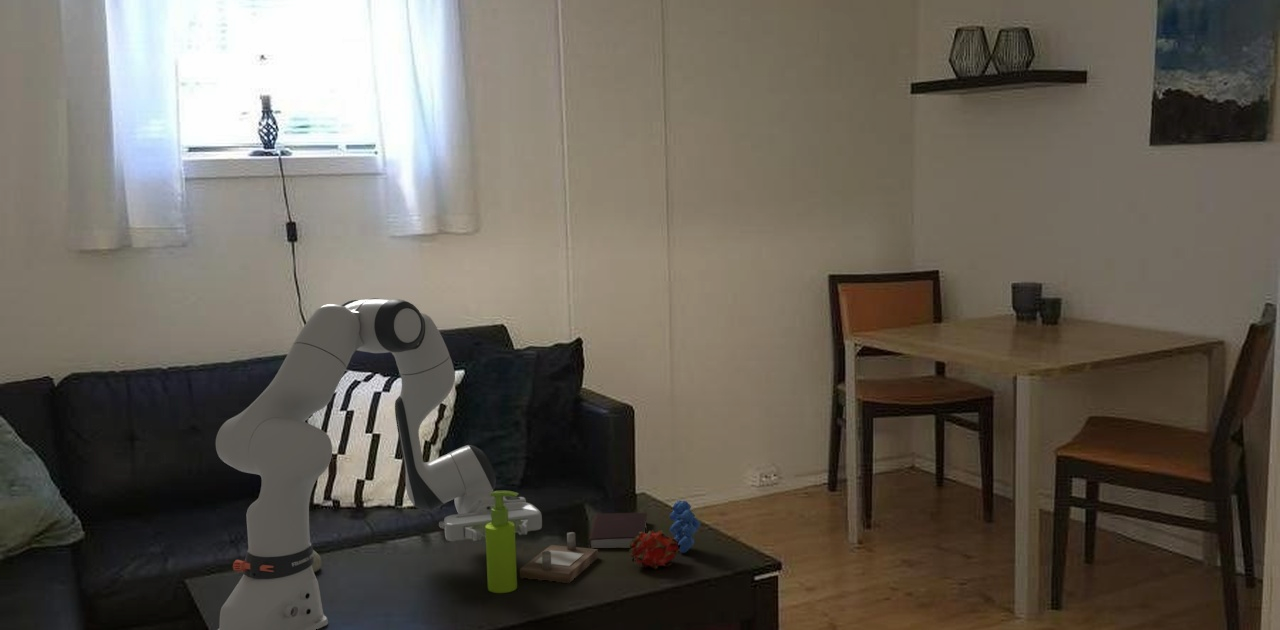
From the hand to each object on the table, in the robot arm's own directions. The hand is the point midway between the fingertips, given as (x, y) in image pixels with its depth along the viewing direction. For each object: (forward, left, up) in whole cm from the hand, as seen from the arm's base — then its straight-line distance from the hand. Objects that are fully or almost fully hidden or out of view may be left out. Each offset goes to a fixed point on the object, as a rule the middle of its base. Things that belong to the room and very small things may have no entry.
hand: (501, 534), depth 227 cm
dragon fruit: (+20, -26, -11) cm, 35 cm away
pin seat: (+13, -7, -11) cm, 18 cm away
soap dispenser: (-1, -1, -11) cm, 11 cm away
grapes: (+30, -30, -11) cm, 44 cm away
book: (+37, -11, -12) cm, 41 cm away
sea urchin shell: (-4, +46, -11) cm, 48 cm away
